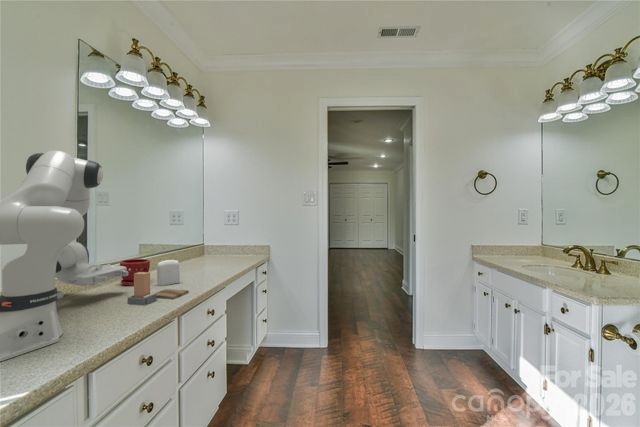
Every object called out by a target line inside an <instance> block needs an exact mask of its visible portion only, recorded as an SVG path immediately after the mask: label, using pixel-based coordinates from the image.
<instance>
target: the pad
mask: <svg viewBox="0 0 640 427" xmlns="http://www.w3.org/2000/svg"><path fill="white" fill-rule="evenodd" d="M156 292H157V294H156V298H157V299H165V300H167V299H168V300H176V299H177V298H180V297H182V296H185V295H186V294H189V292H190V291H189V290H188V289H187V290H186V289H171V288H170V289H169V288H165V289H162V290H160V291H156Z"/></svg>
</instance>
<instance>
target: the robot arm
mask: <svg viewBox="0 0 640 427" xmlns="http://www.w3.org/2000/svg"><path fill="white" fill-rule="evenodd" d="M25 172H26V177H25V178H24V180H23V181H22V183H21V184H20V185H19V187H17V188H16V189H15V190H14V191H13V192H11V193H10V194H8V195H7V196H5V197H4V198H2V199H0V246H3V245H27V246H26V250H25V252H24V254H23V255H20V256H17V257H15V258H14V259H12V260H10V261H9V262H7V263H6V264H5V265H4V267H3V268H2V269H1V295H0V362H3V361H6V360H10V359H12V358H15V357H18V356H21V355H24V354H26V353H29V352H32V351H35V350H39V349H41V348H43V347H47V346H49V345H52V344H56V343H58V342H59V341H60V337H62V335H63V334H64V331H63V329H62V326H61V323H60V320H59V314H58V308H57V302H58V299H57V291H58V288H57V287H56V279H55V278H57V279H58V280H59V281H60V282H59V281H58V282H59V283H61V282H62V283H61V284H66V285H75V286H78V287H79V286H80V287H86V286H94V285H97V284H98V283H102V282H109V281H110V280H113V279H116V278H120V277H121V276H128V271H127V268H126V267H124V266H120V265H116V264H115V265H114V264H113V265H112V264H110V263H101V264H96V263H95V264H94V263H93V264H92V263H91V264H90V263H89V262H90V253H89V250H88V248H87V247H86V245H84V244H82V243H81V242H78V241H75V240H77V239H78V238H79V237H80V236H81V235H82V233H83V231H84V229H85V220H84V217H83V216H84V215H85V214H87V213H88V210H89V208H90V205H91V204H90V203H91V191H90V189H94V188H97V187H98V186H100V185H101V182H102V181H103V178H104V172H103V168H102V166H101V165H100V164H99V163H98V162H97V161H93V160H86V159H82V158H79V157H73V156H72V155H70V154H69V153H67V152H65V151H63V150H62V151H61V150H53V149H52V150H48V151H45V152H44V153H43V152H40V153H39V152H38V153H33V154H32V155H30V156H28V158H27V160H26V163H25Z"/></svg>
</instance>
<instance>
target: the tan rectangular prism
mask: <svg viewBox="0 0 640 427" xmlns="http://www.w3.org/2000/svg"><path fill="white" fill-rule="evenodd" d="M149 294H151V272H138V273H134V285H133V295H134V298H143V297H144V296H146V295H149Z"/></svg>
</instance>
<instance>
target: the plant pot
mask: <svg viewBox="0 0 640 427" xmlns="http://www.w3.org/2000/svg"><path fill="white" fill-rule="evenodd" d="M150 264H151V261H150V260H149V259H145V258H144V259H143V258H136V259H135V258H134V259H133V258H132V259H124V260H121V261H119V266H124V267H126V268H127V271H128V276H120V277H121V278H122V279H121V280H120V283H121V284H122V286H134V273H138V272H149V271H150V268H151V266H150ZM149 273H150V272H149Z"/></svg>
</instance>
